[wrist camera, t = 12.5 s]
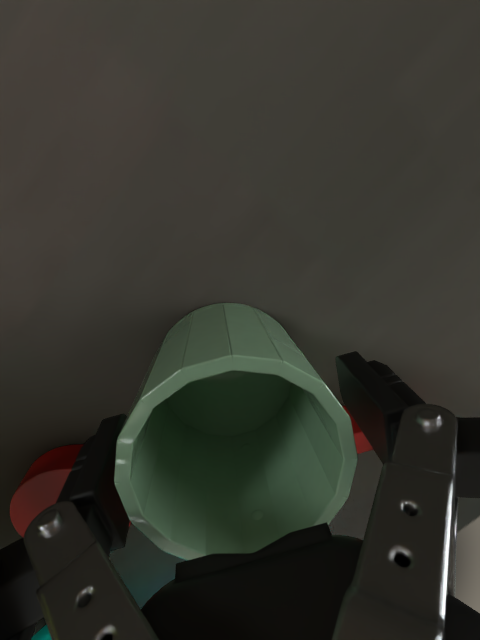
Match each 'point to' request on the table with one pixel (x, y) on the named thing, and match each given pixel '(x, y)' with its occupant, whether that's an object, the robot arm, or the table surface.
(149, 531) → the mug
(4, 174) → the table surface
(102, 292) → the table surface
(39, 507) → the spoon
